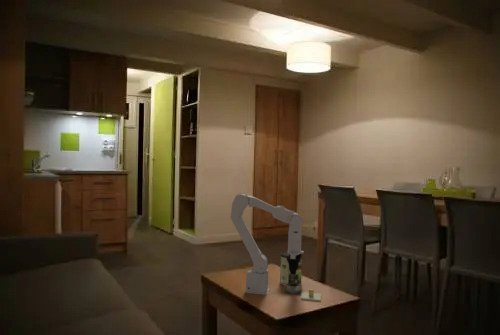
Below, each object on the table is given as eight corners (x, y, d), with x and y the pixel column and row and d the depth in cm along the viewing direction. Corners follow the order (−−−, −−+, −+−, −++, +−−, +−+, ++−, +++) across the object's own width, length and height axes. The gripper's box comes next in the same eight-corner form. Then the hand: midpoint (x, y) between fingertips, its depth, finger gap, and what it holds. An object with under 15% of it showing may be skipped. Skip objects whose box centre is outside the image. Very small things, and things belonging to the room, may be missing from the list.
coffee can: (303, 282, 183) (304, 252, 183) (298, 288, 174) (299, 257, 174) (283, 279, 187) (284, 250, 187) (276, 284, 178) (277, 254, 178)
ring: (286, 293, 165) (286, 286, 165) (287, 289, 171) (287, 282, 171) (299, 294, 164) (299, 287, 164) (300, 290, 169) (300, 283, 169)
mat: (284, 294, 165) (284, 293, 165) (286, 289, 171) (286, 288, 171) (300, 295, 163) (300, 295, 163) (301, 290, 170) (301, 290, 170)
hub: (300, 300, 158) (301, 291, 158) (302, 294, 165) (302, 286, 165) (320, 302, 156) (320, 293, 156) (320, 296, 164) (321, 287, 164)
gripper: (302, 244, 159) (301, 277, 159) (305, 238, 173) (304, 268, 174) (285, 243, 161) (285, 275, 161) (289, 237, 175) (288, 267, 175)
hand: (293, 271), depth 167 cm, fingers open, 7 cm apart
